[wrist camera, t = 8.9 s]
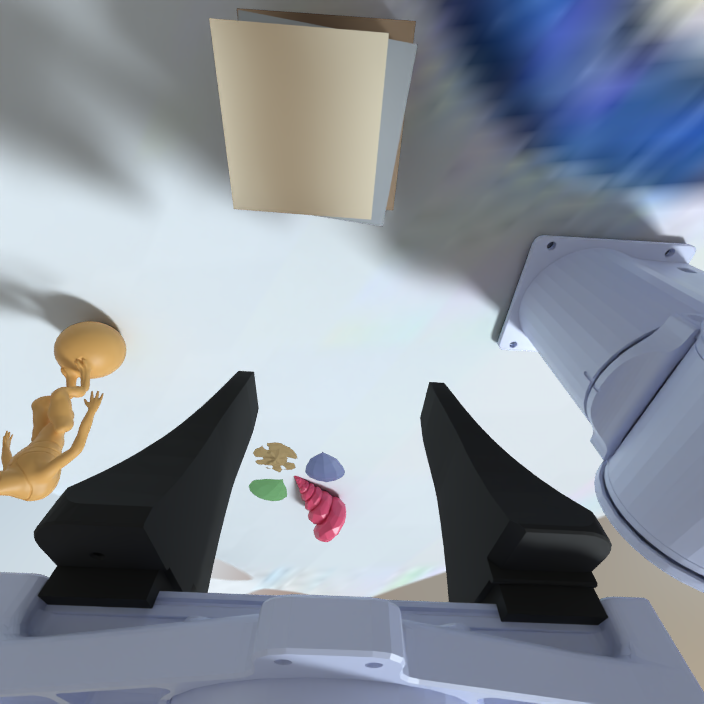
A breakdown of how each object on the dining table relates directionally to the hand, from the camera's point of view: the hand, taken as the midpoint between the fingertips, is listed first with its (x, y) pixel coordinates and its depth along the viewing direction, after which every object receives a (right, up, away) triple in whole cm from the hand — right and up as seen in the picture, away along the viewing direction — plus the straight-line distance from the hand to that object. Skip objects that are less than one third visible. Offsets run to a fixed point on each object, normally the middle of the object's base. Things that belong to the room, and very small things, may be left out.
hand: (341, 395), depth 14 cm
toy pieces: (-5, -11, +21) cm, 24 cm away
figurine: (-17, +2, +12) cm, 21 cm away
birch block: (-1, +10, -1) cm, 10 cm away
